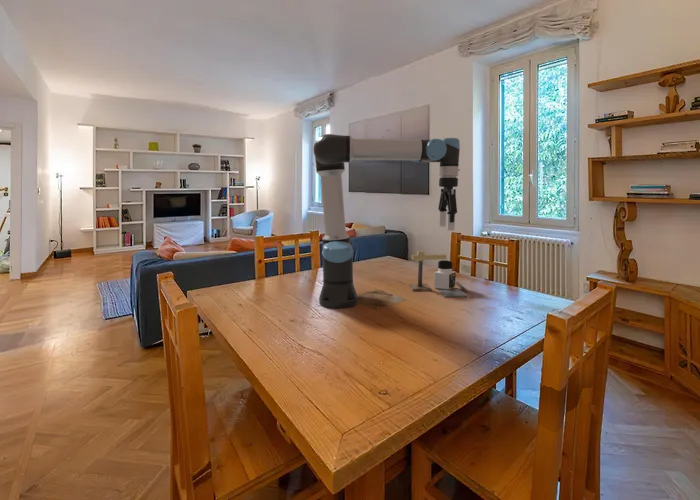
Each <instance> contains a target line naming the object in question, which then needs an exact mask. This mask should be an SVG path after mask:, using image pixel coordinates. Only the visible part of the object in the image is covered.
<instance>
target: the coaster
mask: <svg viewBox="0 0 700 500" xmlns="http://www.w3.org/2000/svg"><path fill="white" fill-rule="evenodd" d="M439 292H440V294H441V295H442V296H443V297H445V298H467V297H468V295H467V294H466V292H464V291H463V290H462V289H450V290H447V289H439Z"/></svg>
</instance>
